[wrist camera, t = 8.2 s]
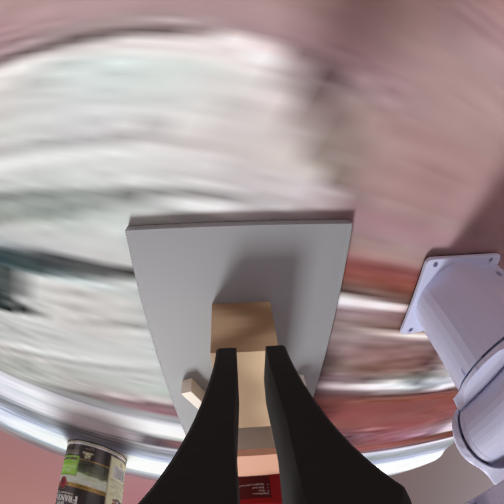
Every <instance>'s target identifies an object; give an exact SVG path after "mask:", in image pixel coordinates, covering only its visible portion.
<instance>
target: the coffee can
mask: <svg viewBox="0 0 504 504" xmlns="http://www.w3.org/2000/svg"><path fill="white" fill-rule="evenodd" d="M126 463H127V460H126V459H125V458H124V457H123V456H122V455H120V454H119V453H117V452H115V451H113V450H111V449H108V448H106V447H103V446H100V445H98V444H94V443H91V442H86V441H80V440H71V441H69V442H68V446H67V450H66V455H65V459H64V464H63V469H62V473H61V478H60V483H59V488H58V493H57V499H56V504H122V494H123V485H124V476H125V468H126Z"/></svg>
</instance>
